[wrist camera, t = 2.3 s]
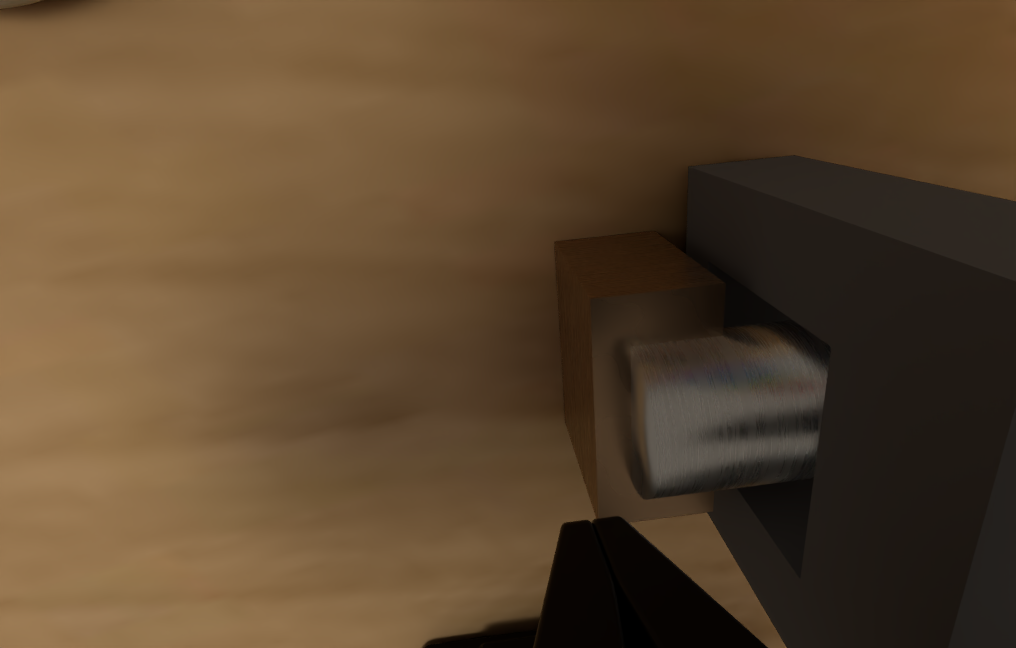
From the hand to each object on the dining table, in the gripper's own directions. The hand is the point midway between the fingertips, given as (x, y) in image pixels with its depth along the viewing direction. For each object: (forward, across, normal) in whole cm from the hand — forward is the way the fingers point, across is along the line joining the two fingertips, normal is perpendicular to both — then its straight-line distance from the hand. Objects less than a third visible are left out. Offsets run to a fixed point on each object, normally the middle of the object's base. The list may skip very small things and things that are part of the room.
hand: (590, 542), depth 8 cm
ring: (+7, -5, 0) cm, 9 cm away
